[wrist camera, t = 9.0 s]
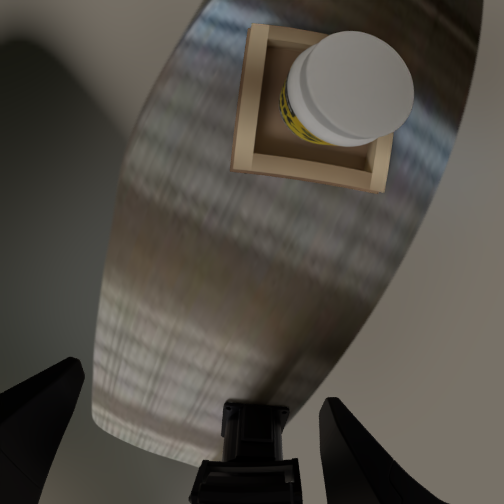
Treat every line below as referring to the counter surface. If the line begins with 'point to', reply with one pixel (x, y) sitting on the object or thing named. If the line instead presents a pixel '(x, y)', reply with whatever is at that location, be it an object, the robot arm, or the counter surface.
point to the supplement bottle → (346, 91)
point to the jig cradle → (277, 133)
